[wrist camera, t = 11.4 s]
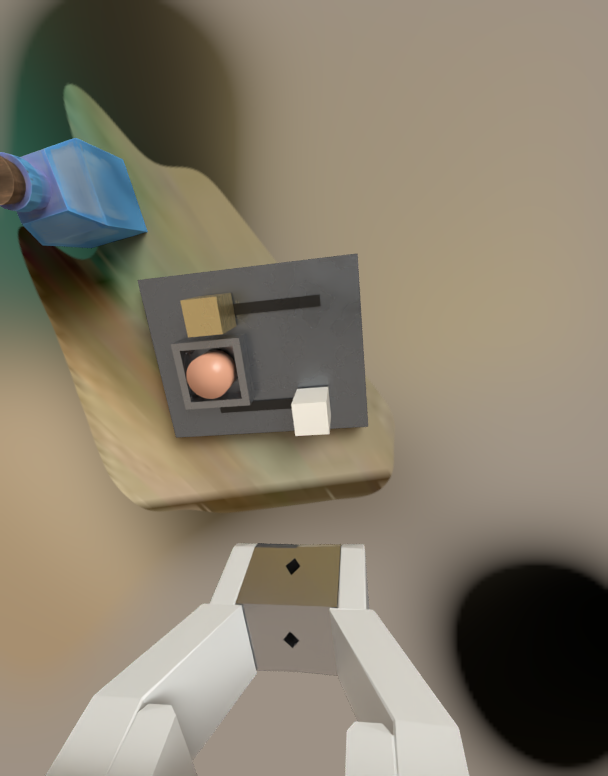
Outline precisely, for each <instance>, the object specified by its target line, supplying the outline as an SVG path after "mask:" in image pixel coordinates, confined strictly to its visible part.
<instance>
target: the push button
mask: <svg viewBox="0 0 608 776" xmlns="http://www.w3.org/2000/svg"><path fill="white" fill-rule="evenodd" d="M186 377H187V382H188V384H189V386H190V388H191V389H192V390H193V391H194V392H195V393H196V394H197V395H199V396H201V397H203V398H207V399H214V398H218V397H220V396H222V395H223V394H224V393H225V392H226V391H227V390H228V389H229V388H230V387H231V386H232V385H233V383H234V382H235V380H236V378H237V368H236V363H235V361H234V360H233V359H232V357H231V356H230V355H228V354H227V353H225V352H223V351H220V350H210V351H207V352H205V353H204V354H202V355H201V356H199V357H198V358H196V359H195V360H193V361H192V362H191V363H190V364H189V366H188V368H187V373H186Z"/></svg>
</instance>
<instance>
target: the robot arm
mask: <svg viewBox="0 0 608 776" xmlns="http://www.w3.org/2000/svg"><path fill="white" fill-rule="evenodd" d="M256 670H259V671H290V672H305V673H315V674H324V675H334V676H338V679H339V681H340V683H341V686H342V688H343V690H344V692H345V694H346V697H347V699H348V701H349V703H350V706H351V708H352V710H353V712H354V715H355V717H356V719H357V721H358V722H354V723H353V724H352V726H351V727H350V728H349V729H348V730H347V742H346V773H345V776H469V773H468V768H467V764H466V759H465V754H464V750H463V745H462V741H461V736H460V731H459V728H458V726H457V725H456V724H455V722H454V721H453V719H452V718H451V717H450V715H449V714H448V712H447V711H446V710H445V708H444V707H443V705H442V704H441V703H440V701H439V700H438V699H437V697H436V696H435V694H434V693H433V692H432V690H431V689H430V687H429V686H428V685H427V683H426V682H425V681H424V679H423V678H422V676H421V675H420V673H419V672H418V671H417V669H416V668H415V666H414V665H413V664H412V662H411V661H410V660H409V658H408V657H407V655H406V654H405V653H404V651H403V650H402V649H401V647H400V646H399V644H398V643H397V642H396V640H395V639H394V637H393V636H392V635H391V633H390V632H389V630H388V629H387V627H386V626H385V625H384V624H383V622H382V621H381V619H380V618H379V616H378V615H377V614H376V612H375V611H374V610H369V597H368V583H367V570H366V556H365V547H364V544H342V545H341V544H336V545H335V544H334V545H333V544H330V545H329V544H326V545H325V544H323V545H321V544H319V545H318V544H317V545H314V544H312V545H311V544H305V545H293V544H264V543H263V544H262V543H258V544H247V543H237V544H236V545H235V546H234V547H233V549H232V551H231V554H230V556H229V558H228V561H227V563H226V565H225V568H224V570H223V572H222V575H221V577H220V579H219V582H218V584H217V586H216V589H215V591H214V594H213V596H212V598H211V600H210V603H209V604H202V605H200V606H199V607H198V608H197V609H196V610H195V611H193V612H192V613H191V614H190V615H189V616H187V617H186V618H185V619H184V620H183V621H181V622H180V623H179V624H178V625H177V626H176V627H174V628H173V629H172V630H171V631H170V632H168V633H167V634H166V635H165V636H164V637H163V638H161V639H160V640H159V641H158V642H157V643H156V644H154V645H153V646H152V647H151V648H149V649H148V650H147V651H146V652H145V653H144V654H142V655H141V656H140V657H139V658H138V659H136V660H135V661H134V662H133V663H132V664H130V665H129V666H128V667H127V668H126V669H125V670H124V671H122V672H121V673H120V674H119V675H118V676H116V677H115V678H114V679H113V680H112V681H111V682H109V683H108V684H107V685H106V686H105V687H103V688H102V689H101V690H100V691H99V692H97V693H96V694H95V695H94V696H93V698H92V699H91V701H90V703H89V704H88V706H87V708H86V709H85V711H84V713H83V714H82V716H81V718H80V719H79V721H78V722H77V724H76V726H75V728H74V729H73V731H72V733H71V734H70V736H69V737H68V739H67V741H66V743H65V744H64V746H63V747H62V749H61V751H60V753H59V754H58V756H57V757H56V759H55V761H54V762H53V764H52V766H51V767H50V769H49V771H48V773H47V774H46V776H197V773H196V771H195V768H194V765H193V762H192V761H193V760H194V758H195V757H196V755H197V754H198V753H199V752H200V750H201V749H202V748H203V746H204V745H205V743H206V742H207V741H208V739H209V738H210V736H211V735H212V734H213V733H214V731H215V730H216V728H217V727H218V726H219V724H220V723H221V722H222V720H223V719H224V718H225V716H226V715H227V713H228V712H229V711H230V709H231V708H232V707H233V705H234V704H235V702H236V701H237V700H238V698H239V697H240V696H241V694H242V693H243V691H244V690H245V689H246V687H247V686H248V685H249V683H250V682H251V681H252V679H253V678H254V677H255V675H256V674H257V672H256Z"/></svg>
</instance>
